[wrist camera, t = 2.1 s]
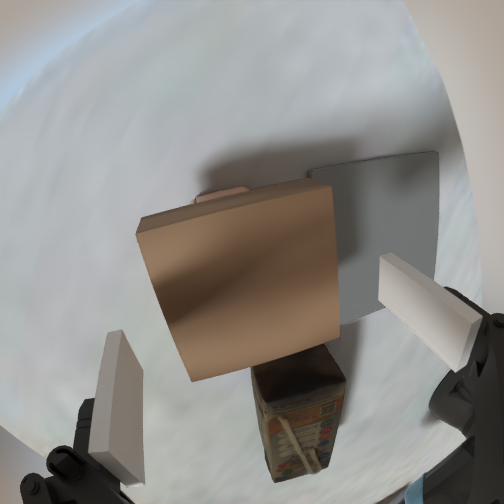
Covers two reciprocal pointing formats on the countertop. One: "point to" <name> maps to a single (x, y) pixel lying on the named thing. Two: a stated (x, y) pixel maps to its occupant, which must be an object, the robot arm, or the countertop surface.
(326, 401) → the beverage carton
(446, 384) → the robot arm
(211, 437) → the countertop surface
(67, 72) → the countertop surface
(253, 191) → the lid
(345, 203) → the mat
